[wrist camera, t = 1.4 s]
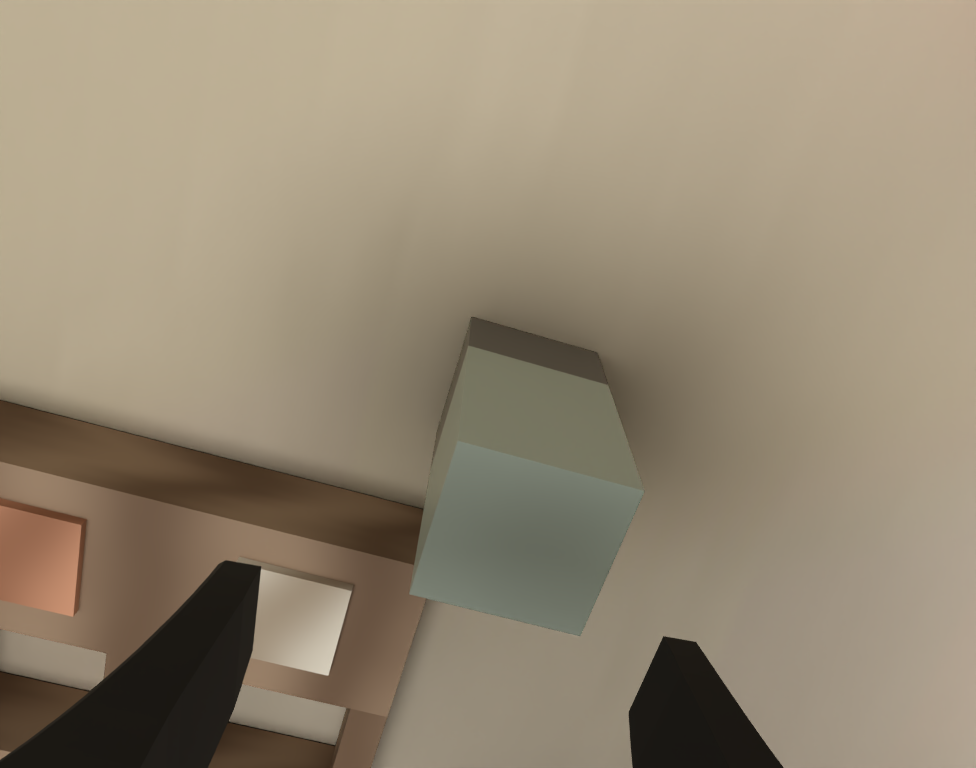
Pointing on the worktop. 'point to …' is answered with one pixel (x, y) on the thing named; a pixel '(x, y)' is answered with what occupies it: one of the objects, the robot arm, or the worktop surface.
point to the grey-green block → (525, 482)
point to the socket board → (201, 575)
